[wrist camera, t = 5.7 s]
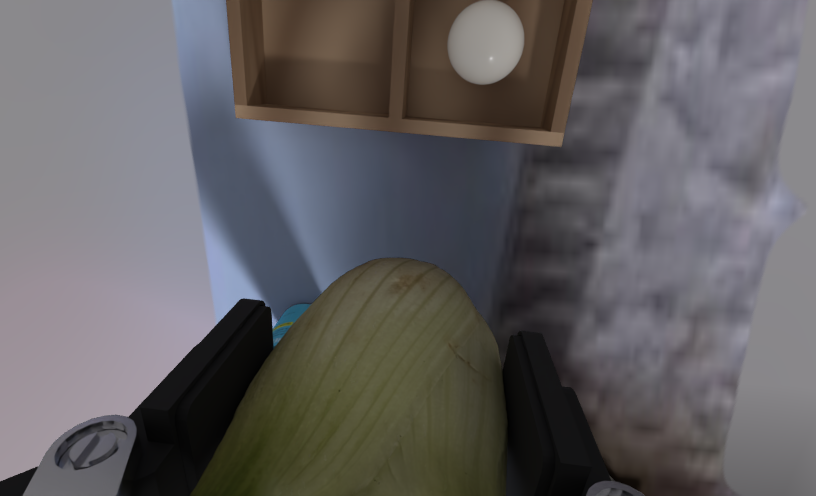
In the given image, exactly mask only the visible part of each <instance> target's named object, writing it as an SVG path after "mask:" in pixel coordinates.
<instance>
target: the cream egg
mask: <svg viewBox="0 0 816 496" xmlns="http://www.w3.org/2000/svg"><path fill="white" fill-rule="evenodd" d="M523 48H524V29H523V25H522V23H521V20H520V18H519V17H518V15H517V13H516V12H515V11H514V10H513V9H512V8H511V7H510V6H508V5H507V4H505V3H503V2H500V1H497V0H481V1H478V2H475V3H473V4H471V5H469V6H468V7H466V8H465V9H464V10H463V11H462V12H461V13H460V14H459V15H458V16H457V18H456V19H455V21H454V22H453V24H452V26H451V29H450V32H449V35H448V41H447V50H448V56H449V60H450V63H451V65H452V67H453V68H454V70H455V71H456V72H457V74H458V75H459V76H461V77H462V78H463V79H465V80H466V81H468V82H470V83H474V84H479V85H486V84H492V83H495V82H497V81H500V80H501V79H503V78H504V77H506V76H507V75H508V74H509V73H510V72H511V71H512V70H513V69H514V68H515V67H516V65H517V63H518V62H519V60H520V58H521V55H522V52H523Z"/></svg>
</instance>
